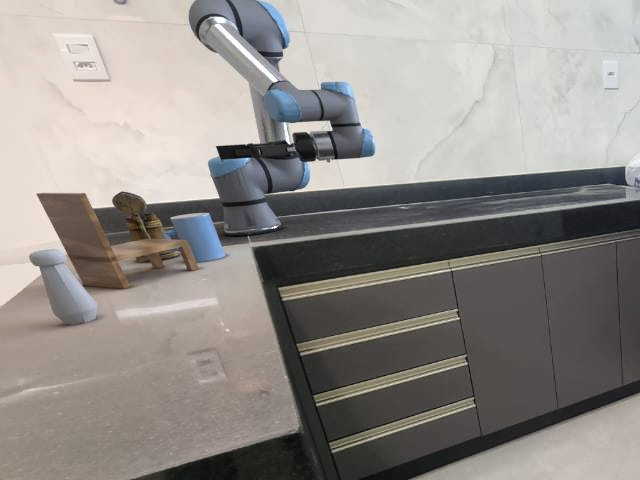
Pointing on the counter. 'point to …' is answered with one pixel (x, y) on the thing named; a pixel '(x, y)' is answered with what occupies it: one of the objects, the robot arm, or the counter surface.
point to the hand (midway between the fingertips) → (217, 152)
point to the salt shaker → (64, 288)
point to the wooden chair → (100, 242)
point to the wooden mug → (141, 222)
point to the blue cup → (197, 236)
